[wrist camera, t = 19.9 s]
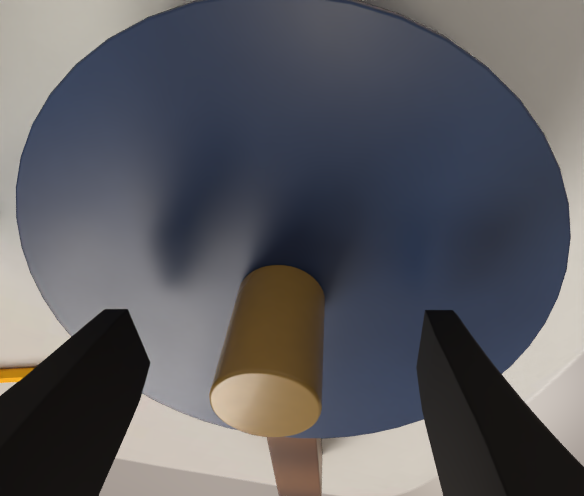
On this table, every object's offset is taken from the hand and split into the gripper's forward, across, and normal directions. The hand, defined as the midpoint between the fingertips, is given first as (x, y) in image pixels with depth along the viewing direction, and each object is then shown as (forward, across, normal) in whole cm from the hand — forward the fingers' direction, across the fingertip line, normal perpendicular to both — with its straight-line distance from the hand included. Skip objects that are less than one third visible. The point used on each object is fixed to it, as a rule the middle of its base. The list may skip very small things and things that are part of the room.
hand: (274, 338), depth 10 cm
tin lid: (+2, 0, 0) cm, 2 cm away
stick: (+7, +1, +14) cm, 16 cm away
